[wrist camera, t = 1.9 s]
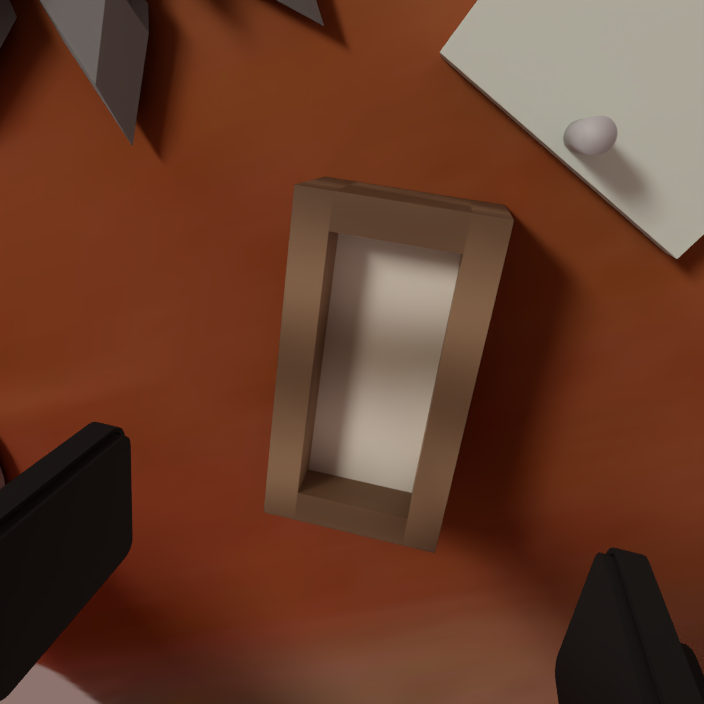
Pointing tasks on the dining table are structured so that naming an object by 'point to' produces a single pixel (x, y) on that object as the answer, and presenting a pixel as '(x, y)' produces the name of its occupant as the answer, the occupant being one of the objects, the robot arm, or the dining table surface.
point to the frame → (379, 354)
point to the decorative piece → (113, 45)
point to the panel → (603, 97)
